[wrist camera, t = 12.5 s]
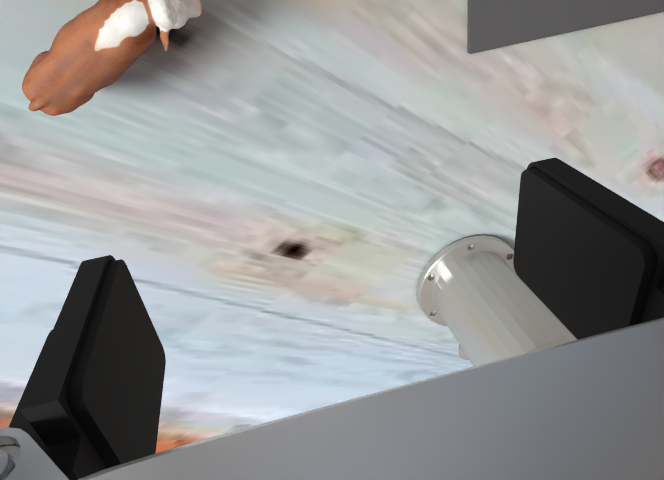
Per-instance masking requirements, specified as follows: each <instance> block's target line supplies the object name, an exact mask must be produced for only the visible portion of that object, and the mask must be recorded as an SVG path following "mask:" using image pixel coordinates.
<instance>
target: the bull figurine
mask: <svg viewBox="0 0 664 480" xmlns="http://www.w3.org/2000/svg"><path fill="white" fill-rule="evenodd" d="M201 13H202V9H201V3H200V1H199V0H99V1H98V2H97V3H96V4H95V5H94V6H92V7H91V8H89V9H87V10H85V11H83V12H82V13H80V14H79V15H78V16H76V17H75V18H74V19H73V20H71V21H69V22H68V23H66V24H65V25H64V26H63V27H62V28H61V29H60V30H59V32H58V33H57V35H56V37H55V39H54V41H53V43H52V46H51V49H50V50H49V51H45V52H42V53H40V54H39V55H38V56H37V57H36V58H35V59H34V61H33V63H32V65H31V66H30V68H29V70H28V72H27V73H26V75H25V77H24V80H23V83H22V90H23V93H24V94H25V96H26V97H27V99H28V100H30V101H31V103H30V105H29V109H30V110H31V111H37V110H41V111H43V112H44V113H46V114H48V115H52V116H55V115H60V114H64V113H69V112H72V111H74V110H75V109H77V108H78V107H79V106H81V105H83V104H84V103H86V102H88V101H89V100H90V99H91V98H92V97H93V95H94V93H95V92H97V91H99V90H100V89H102V88H104V87H107V86H109V85H111V84H112V83H114V82H115V81H116V80H117V79H118V78H119V77H120V76H121V75H122V73H123V72H124V71H125V70H126V69H127V68H128V67H129V66H130V65H131V64H132V63H133V62H134V61H135V60H136V59H137V58H138V57H139V56H140V55H142V54H143V53H144V52H145V51H146V50H147V49H148V47H149V46H150V45H151V44H152V42H153V41H154V39H155V37H156V27H159V28H160V38H161V41H162V43H163V46H164V50H165V51H167V50H168V44H169V38H168V35H169V32H170V30H171V29H179V28H181V27H182V26H184V25H185V23H186V22H187V20H188V19H189V18H195V17H198V16H200V15H201Z"/></svg>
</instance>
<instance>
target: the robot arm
mask: <svg viewBox="0 0 664 480" xmlns="http://www.w3.org/2000/svg"><path fill="white" fill-rule="evenodd" d="M417 298H418V303H419V305H420V307H421V309H422V310H423V312H424V313H425V315H426V316H427V317H428V318H429V319H430V320H431V321H433V322H435V323H437V324H440V325H444V326H448V327H449V329H450V330H451V332H452V333H453V335H454V336H455V338H456V340H457V341H458V343H459V355H460V357H461V358H463V359H466V360H470V362H471V363H472V365H473V366H474V367H471V368H468V369H464V370H460V371H456V372H453V373H449V374H445V375H441V376H437V377H434V378H430V379H426V380H422V381H419V382H415V383H411V384H407V385H404V386H400V387H396V388H393V389H389V390H385V391H381V392H378V393H374V394H370V395H366V396H363V397H359V398H355V399H351V400H348V401H344V402H340V403H337V404H333V405H329V406H326V407H322V408H318V409H315V410H311V411H307V412H304V413H300V414H296V415H293V416H289V417H285V418H282V419H278V420H274V421H271V422H267V423H263V424H260V425H256V426H252V427H249V428H245V429H241V430H237V431H234V432H230V433H226V434H223V435H219V436H216V437H212V438H208V439H205V440H201V441H197V442H194V443H190V444H186V445H183V446H179V447H175V448H172V449H169V450H166V451H162V452H159V453H156V454H155V451H156V443H157V434H158V425H159V416H160V407H161V399H162V390H163V381H164V372H165V362H166V360H165V353H164V349H163V346H162V344H161V342H160V340H159V337H158V335H157V333H156V331H155V328H154V326H153V324H152V322H151V319H150V317H149V315H148V313H147V310H146V308H145V306H144V304H143V301H142V299H141V297H140V295H139V292H138V290H137V288H136V286H135V283H134V281H133V279H132V277H131V274H130V272H129V270H128V268H127V265H126V264H125V262H124V261H123V260H122V259H121V260H115V259H114V257H113V256H111V255H109V256H104V257H99V258H95V259H90V260H86V261H83V262H82V263H81V265H80V267H79V270H78V272H77V274H76V277H75V279H74V281H73V284H72V286H71V289H70V291H69V293H68V296H67V298H66V300H65V303H64V305H63V308H62V310H61V312H60V315H59V317H58V319H57V322H56V324H55V327H54V329H53V330H51V332H50V333H49V335H48V337H47V339H46V341H45V344H44V346H43V348H42V351H41V353H40V355H39V358H38V360H37V362H36V365H35V367H34V369H33V372H32V374H31V376H30V379H29V381H28V383H27V386H26V388H25V390H24V393H23V395H22V397H21V400H20V402H19V404H18V407H17V409H16V411H15V414H14V416H13V418H12V421H11V423H10V425H9V427H8V428H3V429H0V480H664V222H663V221H661V220H659V219H658V218H656V217H654V216H653V215H651V214H649V213H648V212H646V211H644V210H643V209H641V208H639V207H638V206H636V205H634V204H633V203H631V202H629V201H628V200H626V199H624V198H623V197H621V196H619V195H618V194H616V193H614V192H613V191H611V190H609V189H608V188H606V187H604V186H603V185H601V184H599V183H598V182H596V181H594V180H593V179H591V178H589V177H588V176H586V175H584V174H583V173H581V172H579V171H578V170H576V169H574V168H573V167H571V166H569V165H568V164H566V163H564V162H563V161H561V160H559V159H557V158H551V159H546V160H541V161H537V162H532V163H530V164H529V165H528V167H527V170H524V171H523V172H522V174H521V181H520V192H519V203H518V214H517V225H516V236H515V248H514V250H513V249H512V248H511V247H510V246H509V245H508V244H507V243H506V242H504V241H503V240H501V239H499V238H496V237H493V236H486V235H481V236H472V237H467V238H464V239H461V240H459V241H456V242H454V243H452V244H450V245H449V246H447V247H445V248H444V249H443V250H441V251H440V252H439V253H437V254H436V255H435V256H434V257H433V258H432V259H431V260H430V262H429V263H428V264H427V266H426V267H425V269H424V270H423V272H422V274H421V276H420V278H419V282H418V286H417Z"/></svg>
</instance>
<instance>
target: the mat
mask: <svg viewBox="0 0 664 480" xmlns="http://www.w3.org/2000/svg"><path fill="white" fill-rule="evenodd" d="M660 12H664V0H468V53H469V54H472V53H476V52H481V51H485V50H490V49H495V48H499V47H504V46H508V45H513V44H518V43H522V42H527V41H531V40H536V39H541V38H545V37H550V36H554V35H559V34H563V33H568V32H573V31H577V30H582V29H586V28H591V27H596V26H600V25H605V24H609V23H614V22H619V21H623V20H628V19H632V18H637V17H642V16H646V15H651V14H655V13H660Z"/></svg>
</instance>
